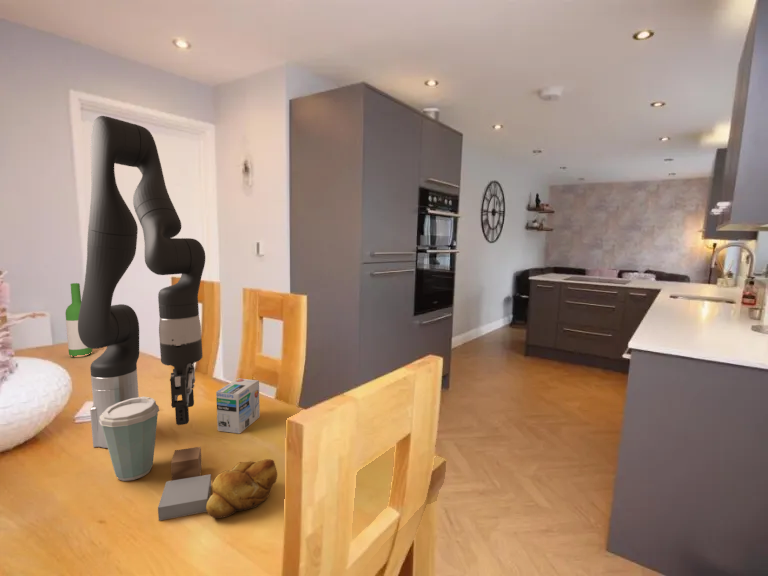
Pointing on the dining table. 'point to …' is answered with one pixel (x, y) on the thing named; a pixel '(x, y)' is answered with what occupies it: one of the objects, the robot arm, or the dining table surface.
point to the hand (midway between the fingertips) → (185, 414)
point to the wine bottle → (75, 324)
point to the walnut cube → (186, 463)
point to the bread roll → (241, 487)
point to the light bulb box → (238, 405)
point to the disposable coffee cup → (131, 436)
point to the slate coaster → (184, 497)
